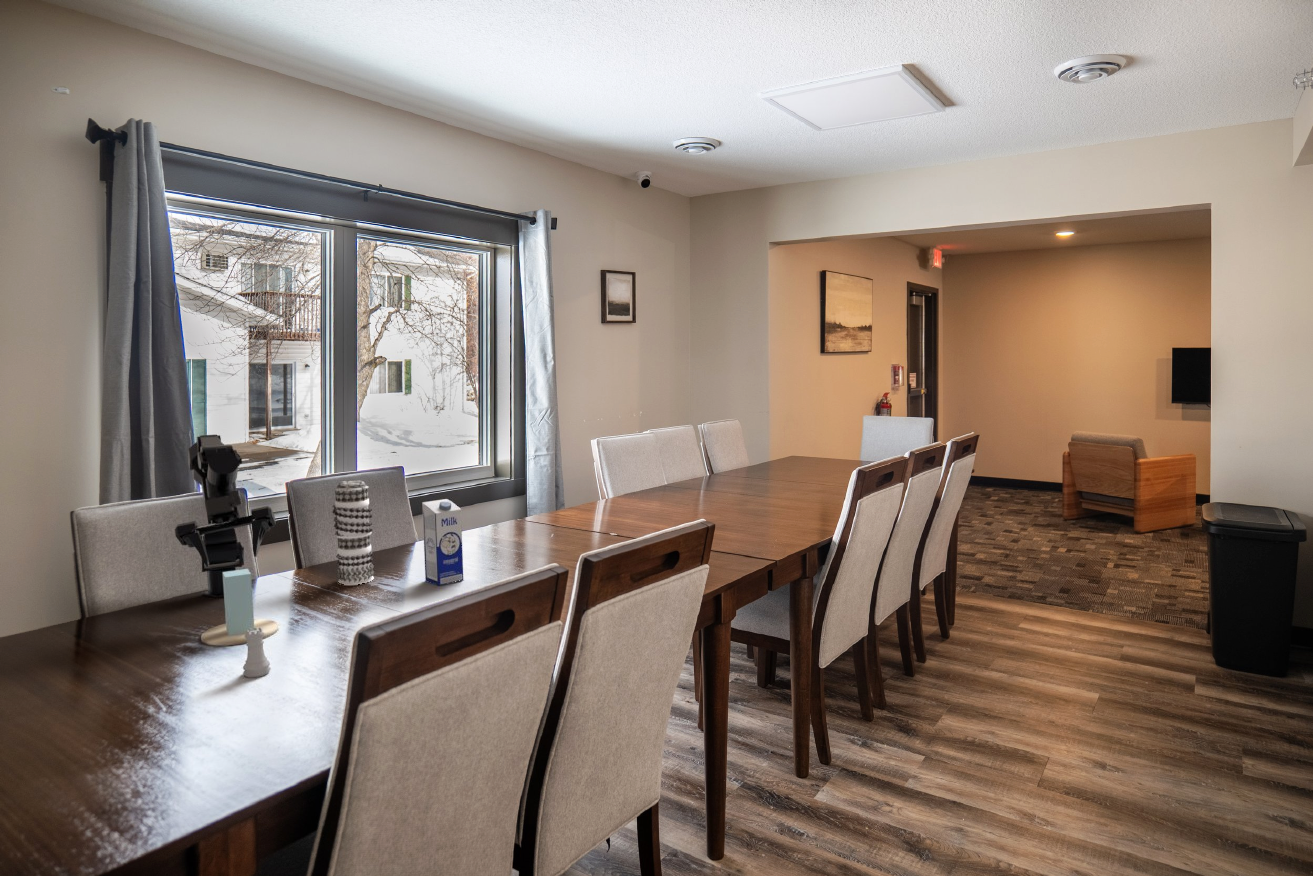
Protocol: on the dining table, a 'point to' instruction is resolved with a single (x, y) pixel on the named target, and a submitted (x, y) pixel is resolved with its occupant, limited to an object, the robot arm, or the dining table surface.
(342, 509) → the patterned cylinder tower
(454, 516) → the milk carton
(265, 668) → the rook chess piece
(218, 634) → the board
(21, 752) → the dining table surface
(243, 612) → the teal post
